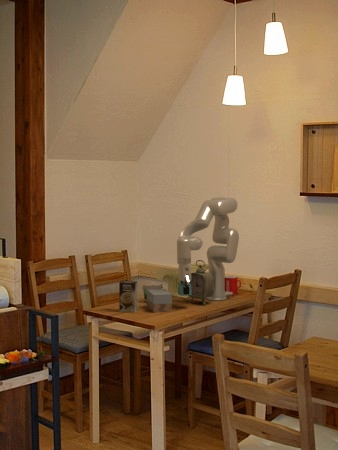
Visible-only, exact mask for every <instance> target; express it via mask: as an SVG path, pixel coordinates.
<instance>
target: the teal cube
mask: <svg viewBox="0 0 338 450" xmlns="http://www.w3.org/2000/svg"><path fill="white" fill-rule="evenodd" d="M185 284H186V283H185ZM183 287H184V283H178V294H179V295H181V296H185V295H192V291H191V284H190V283H189V294H185V295H184V291H183Z"/></svg>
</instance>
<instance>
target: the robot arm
mask: <svg viewBox="0 0 338 450" xmlns="http://www.w3.org/2000/svg"><path fill="white" fill-rule="evenodd" d="M237 209H238V202H237V199H236V198H234V197H224V196H223V197H222V196H221V197H220V196H219V197H217V196H216V197H212V198H211V199H207V200H205V201H203V203H202V205H201V207H200V209H199V211H198V213H197V215H196V216H195V219H194V220H192V221H191V222H190V223H188V224H187V225H186V226H185V227H184V228H182V230H181V232H180V234H179V236H178V239H177V240H176V260H177V261H176V262H177V263H176V264H177V265H178V271H179V279H180V283H184V287H183V291H184V295H185V294H189V283H190V282H191V281H192V280H191V267H190V264H191V263H192V257H191V256H192V251H199V250H200V249H201V248H202V247H203V240H202V238H200V237H199V236H193V234H195V233H197V232H200V231H203V230H206V229H207V228H208V227H209V225H210V223H211V222H212V220H213V218H214V225H213V231H212V242H214V243H215V244H221V245H211V246H209V247H208V248H207V250H206V258H207V264H208V266H209V269H208V273H210V274H211V275H213V277H214V293H213V295H212V297H208V298H205V300H209V301H216V302H217V301H219V302H220V301H226V300H227V299H228V296H233V295H232V294H233V293H232V292H226V291H225V276H226V275H225V273H226V270H225V266H224V264H225V263H226V264H232V263H233V262H235V260H236V256H237V252H238V247H239V239H240V236H239V232H238V230H237V229H236V228H233V227H231V228H230V227H229V226H230V217H229V214H233V213H235V212H236V211H237ZM224 245H225V246H224ZM223 263H224V264H223ZM189 281H190V282H189ZM185 283H186V284H185Z"/></svg>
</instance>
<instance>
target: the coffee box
mask: <svg viewBox="0 0 338 450" xmlns="http://www.w3.org/2000/svg"><path fill="white" fill-rule="evenodd" d="M118 285H119V290H118V291H119V293H118V295H119V296H118V298H119V299H118V300H119V302H118V303H119V305H118V307H119V308H118V309H119V310H118V312H119V313H137V311H138V281H137V280H134V281H133V280H121V281H119V284H118Z"/></svg>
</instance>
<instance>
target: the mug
mask: <svg viewBox="0 0 338 450" xmlns="http://www.w3.org/2000/svg"><path fill="white" fill-rule="evenodd" d="M238 282H239V283H238ZM238 284H239V286H238ZM241 287H242V280H241V279H239V278H238V276H237V275H225V291H226V292H232V293H233V294H232V295H231V296H235V295H237V294H238V290H239V289H240V288H241ZM234 294H235V295H234Z"/></svg>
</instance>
